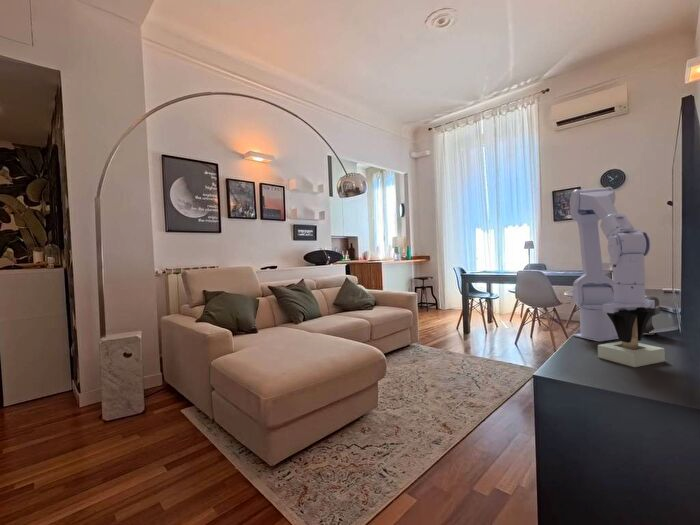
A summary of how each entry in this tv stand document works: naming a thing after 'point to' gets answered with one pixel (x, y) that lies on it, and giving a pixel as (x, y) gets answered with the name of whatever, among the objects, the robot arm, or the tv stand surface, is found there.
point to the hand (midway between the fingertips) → (630, 340)
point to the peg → (634, 341)
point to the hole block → (631, 354)
